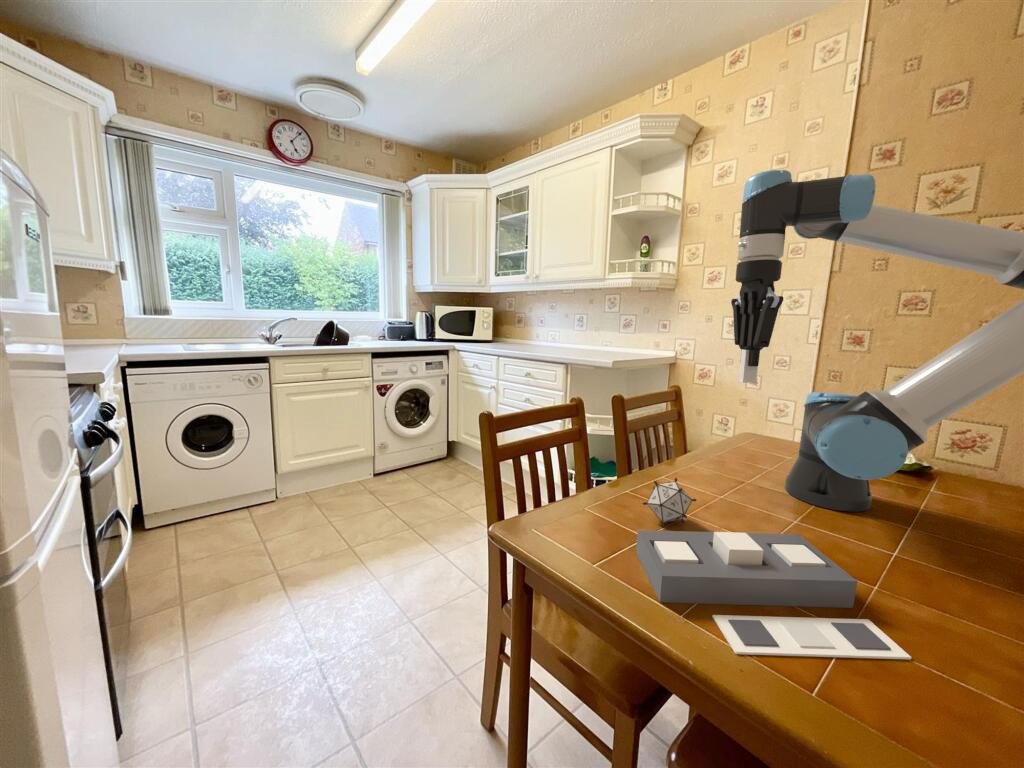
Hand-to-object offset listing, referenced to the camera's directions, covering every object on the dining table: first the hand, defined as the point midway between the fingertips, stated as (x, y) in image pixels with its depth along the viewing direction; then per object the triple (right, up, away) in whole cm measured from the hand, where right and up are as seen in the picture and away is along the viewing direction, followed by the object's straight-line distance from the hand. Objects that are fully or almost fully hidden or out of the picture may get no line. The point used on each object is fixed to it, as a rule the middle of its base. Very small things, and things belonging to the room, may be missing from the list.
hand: (747, 381), depth 83 cm
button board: (-14, -30, -21) cm, 39 cm away
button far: (-23, -28, -21) cm, 42 cm away
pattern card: (-11, -31, -32) cm, 47 cm away
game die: (-18, -27, -4) cm, 32 cm away
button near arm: (-5, -29, -21) cm, 36 cm away
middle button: (-14, -27, -21) cm, 37 cm away
